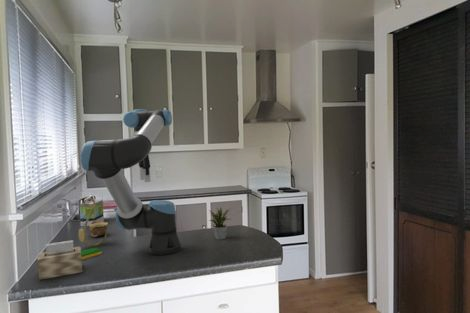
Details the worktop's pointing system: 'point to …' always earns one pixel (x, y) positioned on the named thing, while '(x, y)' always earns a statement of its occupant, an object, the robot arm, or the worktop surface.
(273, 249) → the worktop surface
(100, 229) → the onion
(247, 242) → the worktop surface
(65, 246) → the grey flat block
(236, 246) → the worktop surface
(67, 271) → the camouflage slotted box
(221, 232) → the house plant
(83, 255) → the dish sponge
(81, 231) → the wall sconce
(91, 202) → the tea box
